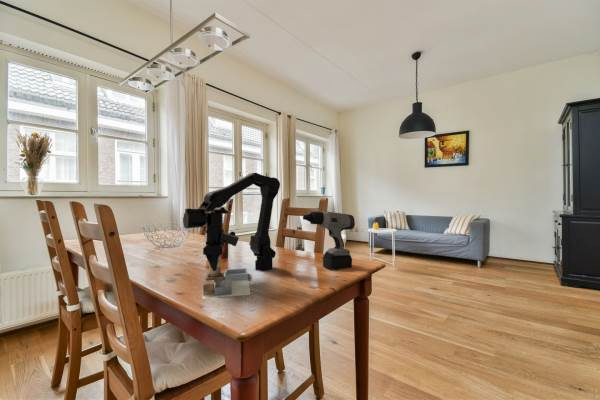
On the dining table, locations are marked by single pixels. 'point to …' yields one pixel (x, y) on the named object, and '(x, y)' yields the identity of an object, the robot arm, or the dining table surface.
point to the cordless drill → (334, 237)
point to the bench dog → (208, 287)
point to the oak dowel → (218, 270)
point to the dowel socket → (215, 277)
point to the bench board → (233, 289)
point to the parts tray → (236, 274)
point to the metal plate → (223, 287)
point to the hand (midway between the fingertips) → (215, 269)
